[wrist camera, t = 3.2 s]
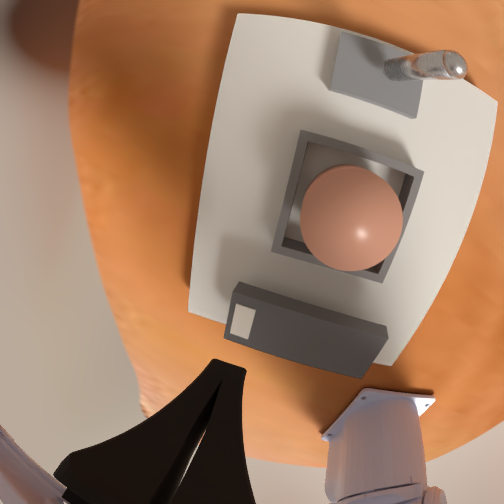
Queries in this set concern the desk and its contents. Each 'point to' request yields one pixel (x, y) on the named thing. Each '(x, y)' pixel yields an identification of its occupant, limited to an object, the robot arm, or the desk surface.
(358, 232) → the push button
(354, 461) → the robot arm
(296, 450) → the desk surface
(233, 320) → the rocker switch
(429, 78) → the toggle lever
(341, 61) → the switch panel
